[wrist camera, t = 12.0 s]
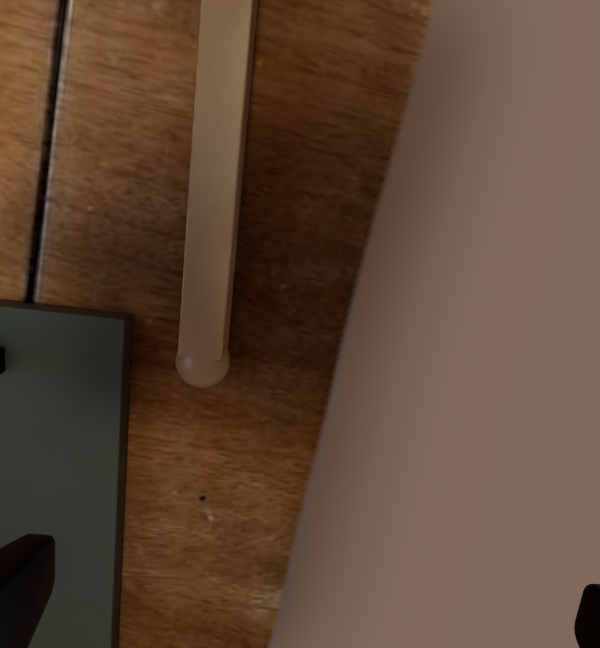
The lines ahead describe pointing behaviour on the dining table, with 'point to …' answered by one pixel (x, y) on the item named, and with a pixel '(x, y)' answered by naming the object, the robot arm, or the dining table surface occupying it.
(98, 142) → the dining table surface
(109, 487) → the rack
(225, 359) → the beige rounded rod
